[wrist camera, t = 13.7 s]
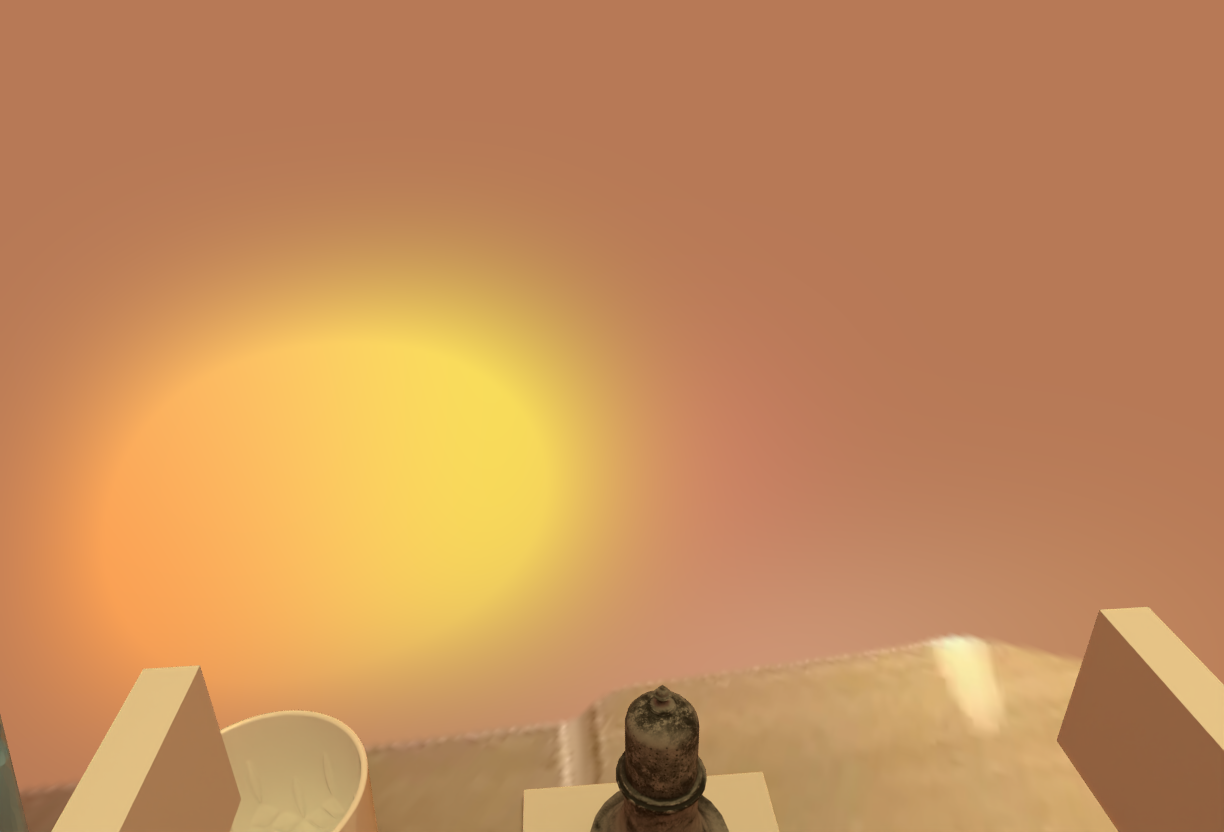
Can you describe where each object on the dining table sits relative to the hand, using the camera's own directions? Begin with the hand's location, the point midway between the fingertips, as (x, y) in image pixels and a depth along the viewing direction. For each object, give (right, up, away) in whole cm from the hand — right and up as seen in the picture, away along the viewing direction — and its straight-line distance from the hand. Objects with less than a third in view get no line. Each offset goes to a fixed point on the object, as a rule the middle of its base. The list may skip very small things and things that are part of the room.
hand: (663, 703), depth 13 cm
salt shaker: (+1, -17, +24) cm, 30 cm away
